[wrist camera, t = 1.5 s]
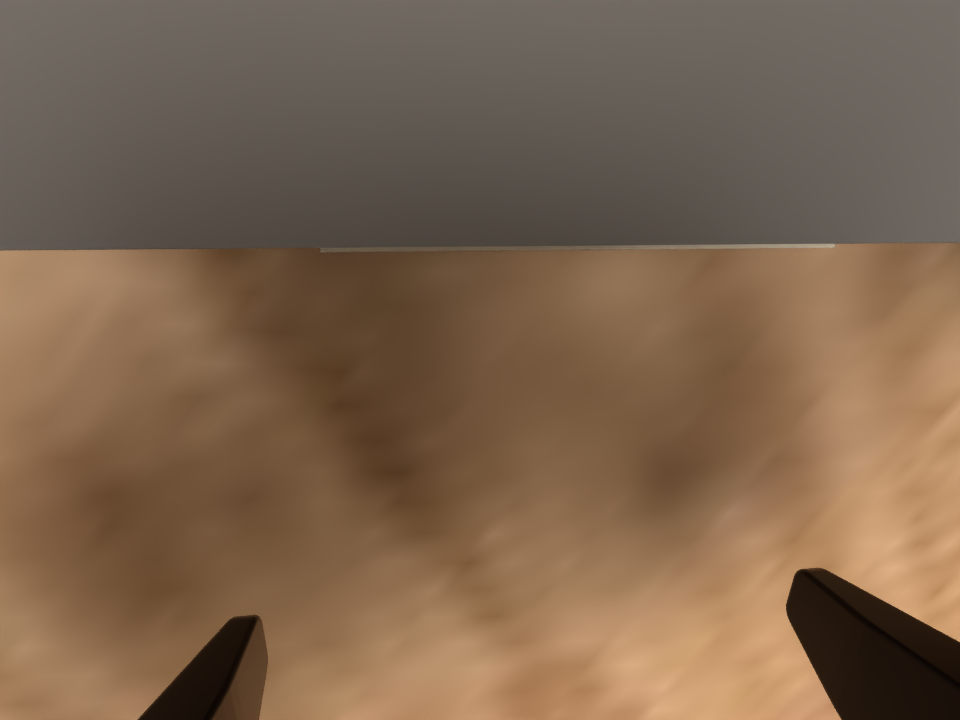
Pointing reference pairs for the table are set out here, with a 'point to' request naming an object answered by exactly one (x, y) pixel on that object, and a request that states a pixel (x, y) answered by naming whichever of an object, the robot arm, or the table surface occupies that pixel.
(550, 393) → the table surface
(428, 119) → the block
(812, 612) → the robot arm
